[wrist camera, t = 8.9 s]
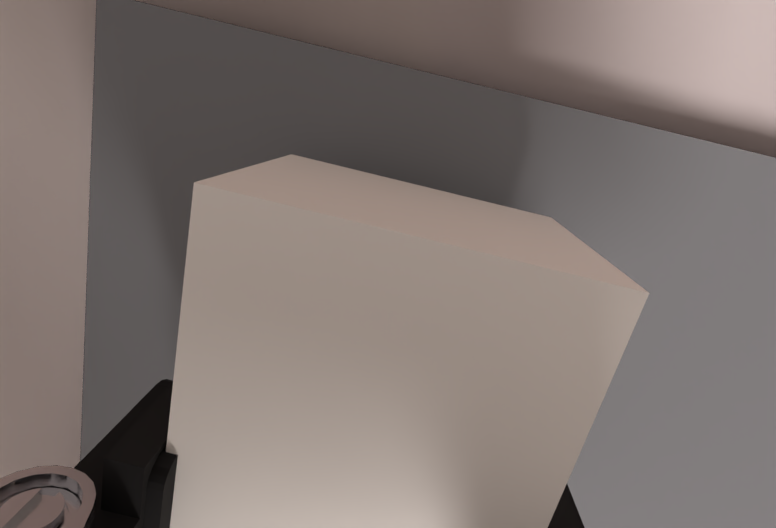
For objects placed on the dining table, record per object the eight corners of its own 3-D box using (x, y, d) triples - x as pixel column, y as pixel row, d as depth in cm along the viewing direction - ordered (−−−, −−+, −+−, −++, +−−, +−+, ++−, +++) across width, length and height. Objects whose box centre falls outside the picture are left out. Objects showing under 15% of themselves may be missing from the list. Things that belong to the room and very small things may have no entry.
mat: (934, 714, 14) (955, 739, 14) (91, 515, 14) (77, 532, 13) (1315, 293, 10) (1371, 303, 9) (115, -2, 10) (96, -9, 9)
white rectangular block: (551, 217, 9) (648, 292, 5) (419, 597, 12) (419, 823, 8) (291, 154, 9) (193, 182, 5) (226, 551, 12) (134, 757, 8)
